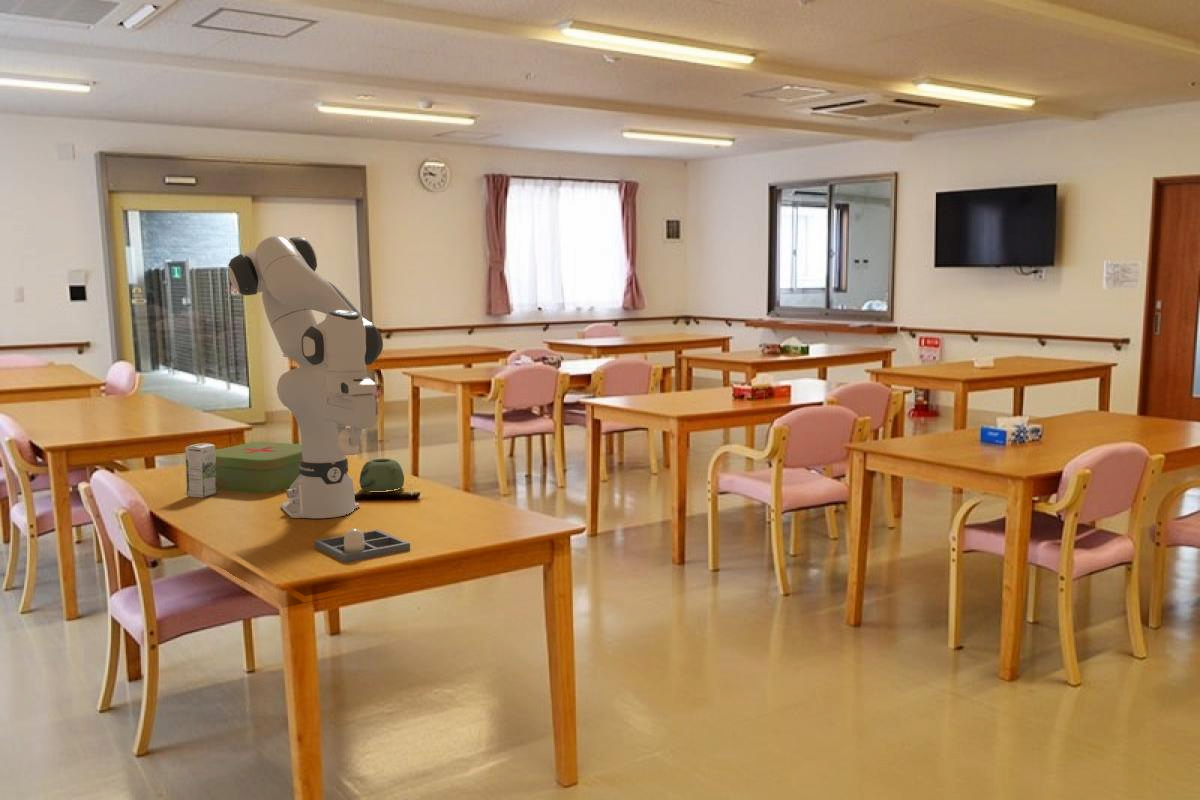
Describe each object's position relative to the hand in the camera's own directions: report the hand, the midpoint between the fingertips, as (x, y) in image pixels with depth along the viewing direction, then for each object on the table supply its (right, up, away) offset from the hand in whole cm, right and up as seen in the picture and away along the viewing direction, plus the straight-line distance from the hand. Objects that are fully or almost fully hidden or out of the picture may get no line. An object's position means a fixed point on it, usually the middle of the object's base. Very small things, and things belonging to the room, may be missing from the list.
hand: (349, 444), depth 227 cm
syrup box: (-56, -17, +58) cm, 82 cm away
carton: (+3, -24, 0) cm, 25 cm away
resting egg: (+3, -24, -6) cm, 25 cm away
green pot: (-6, -17, +65) cm, 67 cm away
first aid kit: (-45, -15, +76) cm, 90 cm away
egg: (0, -2, 0) cm, 2 cm away
